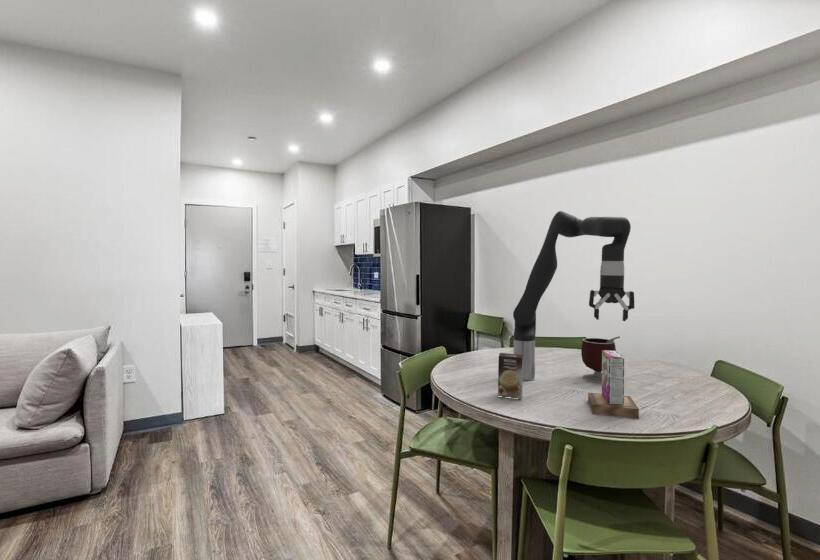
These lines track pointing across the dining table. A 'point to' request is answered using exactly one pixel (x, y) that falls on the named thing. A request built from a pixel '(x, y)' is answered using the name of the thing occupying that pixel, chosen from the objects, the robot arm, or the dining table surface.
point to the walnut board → (612, 406)
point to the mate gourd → (595, 356)
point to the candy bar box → (613, 377)
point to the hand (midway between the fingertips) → (610, 320)
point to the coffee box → (510, 375)
